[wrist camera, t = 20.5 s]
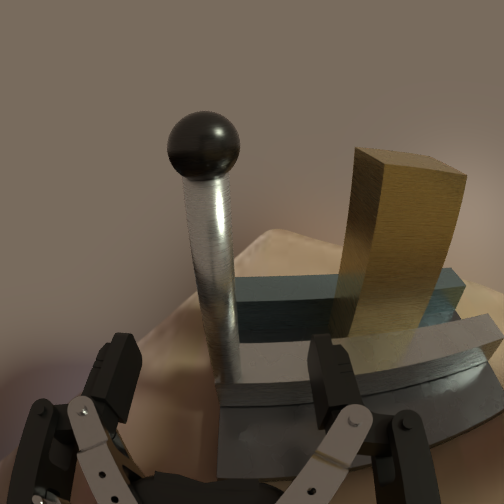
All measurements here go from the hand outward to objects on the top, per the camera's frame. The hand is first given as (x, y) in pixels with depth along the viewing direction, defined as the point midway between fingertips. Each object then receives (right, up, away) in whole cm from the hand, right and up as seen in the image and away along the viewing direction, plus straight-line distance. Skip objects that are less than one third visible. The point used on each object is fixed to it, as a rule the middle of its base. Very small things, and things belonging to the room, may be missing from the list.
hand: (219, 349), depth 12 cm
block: (+10, -3, +8) cm, 14 cm away
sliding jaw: (+10, -4, +5) cm, 12 cm away
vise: (+10, -4, +8) cm, 14 cm away
